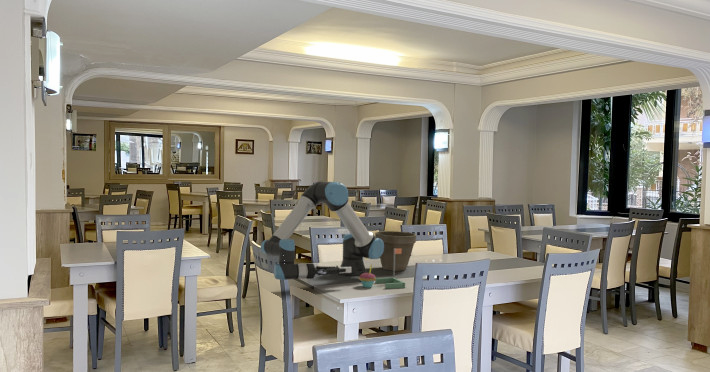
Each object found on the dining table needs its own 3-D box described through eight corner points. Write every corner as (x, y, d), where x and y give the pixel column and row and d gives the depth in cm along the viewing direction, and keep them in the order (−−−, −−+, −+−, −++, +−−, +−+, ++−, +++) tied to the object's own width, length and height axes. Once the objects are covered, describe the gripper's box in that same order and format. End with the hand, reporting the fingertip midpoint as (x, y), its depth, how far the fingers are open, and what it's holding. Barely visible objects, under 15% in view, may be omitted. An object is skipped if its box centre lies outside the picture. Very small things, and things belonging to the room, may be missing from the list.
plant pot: (422, 268, 343) (423, 233, 343) (404, 274, 322) (405, 236, 322) (386, 263, 356) (387, 229, 356) (366, 269, 335) (367, 233, 335)
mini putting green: (386, 288, 283) (386, 253, 282) (374, 282, 297) (375, 248, 297) (412, 287, 288) (413, 252, 287) (400, 281, 302) (401, 248, 302)
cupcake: (375, 285, 291) (375, 262, 291) (376, 288, 283) (376, 264, 282) (358, 284, 291) (359, 261, 291) (359, 288, 283) (359, 264, 282)
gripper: (302, 276, 282) (346, 274, 290) (308, 281, 269) (355, 279, 277) (302, 261, 281) (347, 260, 290) (309, 265, 269) (355, 264, 277)
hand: (350, 269), depth 283 cm, fingers closed
